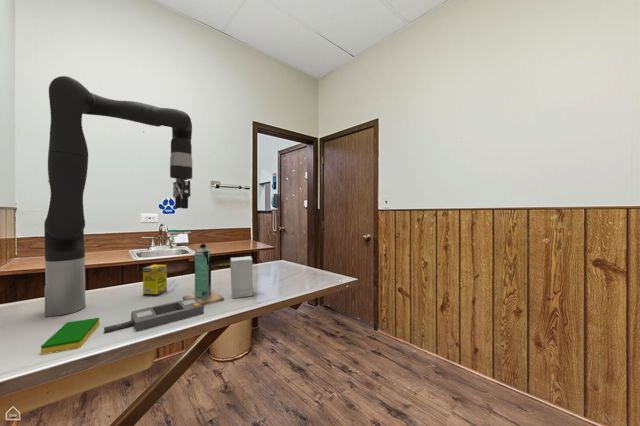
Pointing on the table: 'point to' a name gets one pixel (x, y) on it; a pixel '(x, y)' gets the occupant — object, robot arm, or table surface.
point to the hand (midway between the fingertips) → (181, 208)
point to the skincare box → (241, 277)
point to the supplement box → (154, 280)
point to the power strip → (150, 318)
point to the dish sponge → (70, 336)
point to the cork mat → (214, 298)
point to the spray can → (202, 273)
